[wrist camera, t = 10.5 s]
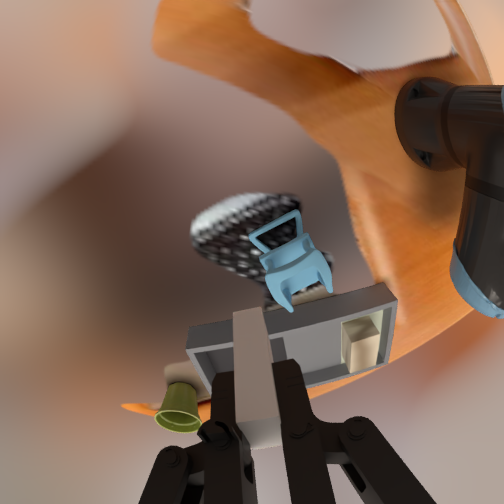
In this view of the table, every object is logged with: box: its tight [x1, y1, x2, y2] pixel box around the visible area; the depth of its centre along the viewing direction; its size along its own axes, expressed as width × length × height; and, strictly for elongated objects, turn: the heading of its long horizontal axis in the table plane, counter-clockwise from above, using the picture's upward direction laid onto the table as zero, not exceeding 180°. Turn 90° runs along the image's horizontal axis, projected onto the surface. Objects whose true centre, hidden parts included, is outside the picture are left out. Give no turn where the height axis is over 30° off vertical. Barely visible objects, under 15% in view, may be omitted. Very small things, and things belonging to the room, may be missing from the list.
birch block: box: [342, 315, 380, 373], centre depth 43 cm, size 5×8×5 cm, turn 12°
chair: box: [249, 209, 333, 313], centre depth 34 cm, size 8×8×12 cm
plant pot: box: [154, 382, 202, 433], centre depth 48 cm, size 9×9×9 cm
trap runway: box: [185, 283, 398, 396], centre depth 45 cm, size 34×16×6 cm, turn 102°
